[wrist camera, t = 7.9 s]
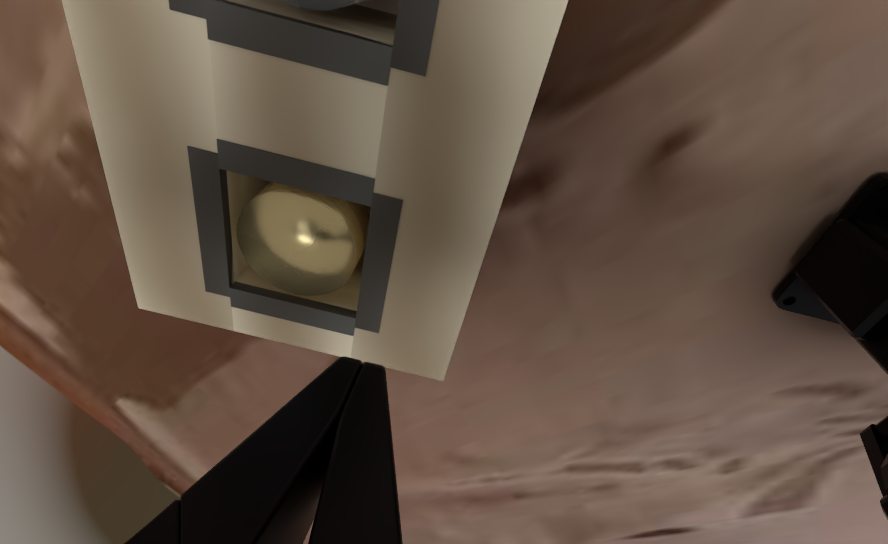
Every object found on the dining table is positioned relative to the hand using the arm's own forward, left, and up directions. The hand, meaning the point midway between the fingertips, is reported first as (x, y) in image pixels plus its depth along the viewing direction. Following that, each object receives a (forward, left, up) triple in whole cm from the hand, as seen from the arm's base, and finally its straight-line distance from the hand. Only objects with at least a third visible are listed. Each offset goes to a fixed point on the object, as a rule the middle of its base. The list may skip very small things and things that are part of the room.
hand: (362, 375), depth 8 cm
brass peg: (+4, +2, -12) cm, 13 cm away
